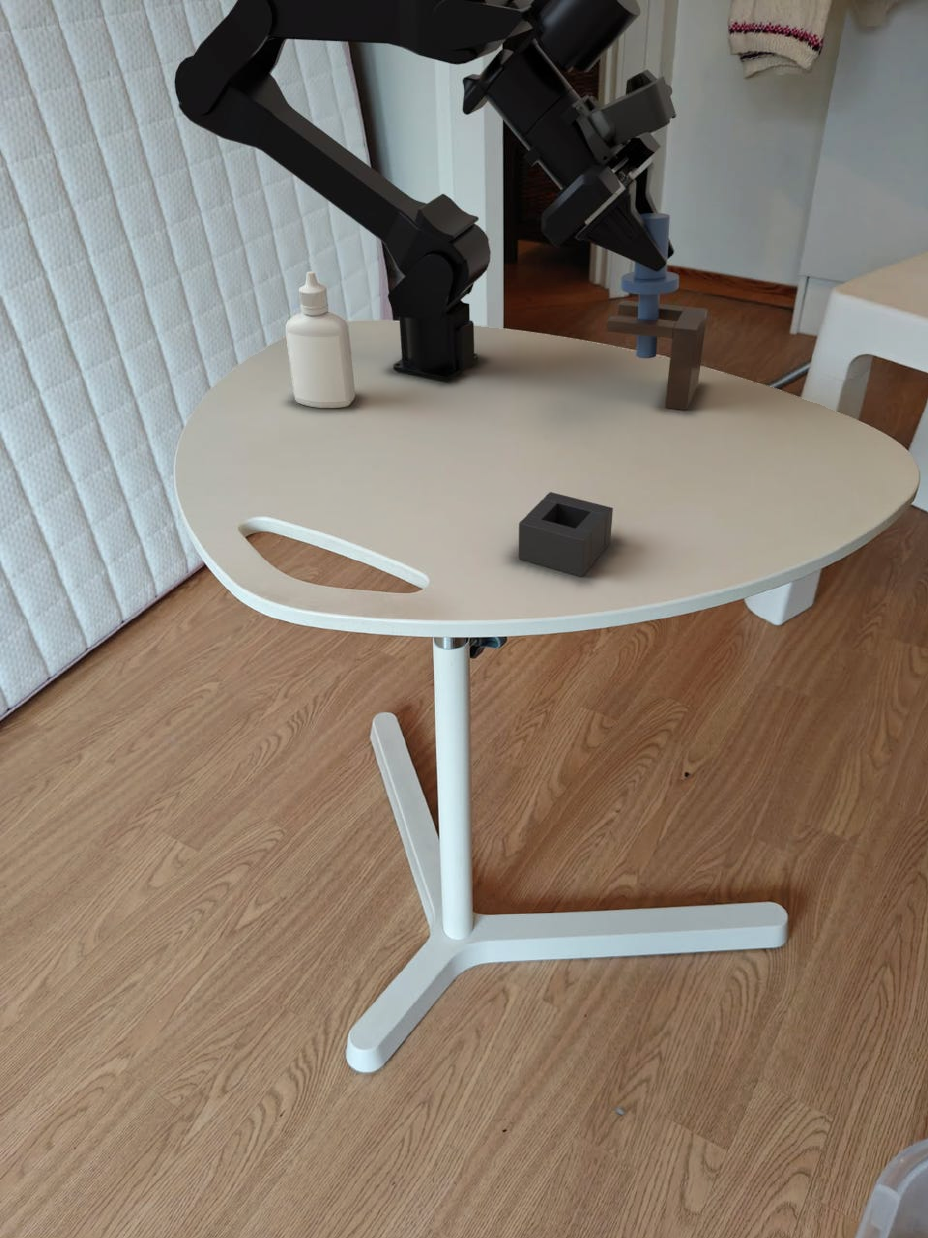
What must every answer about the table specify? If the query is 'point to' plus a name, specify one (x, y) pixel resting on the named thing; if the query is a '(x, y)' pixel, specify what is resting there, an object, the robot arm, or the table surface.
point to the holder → (565, 533)
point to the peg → (651, 282)
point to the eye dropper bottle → (319, 351)
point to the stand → (683, 347)
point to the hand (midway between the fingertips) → (666, 262)
